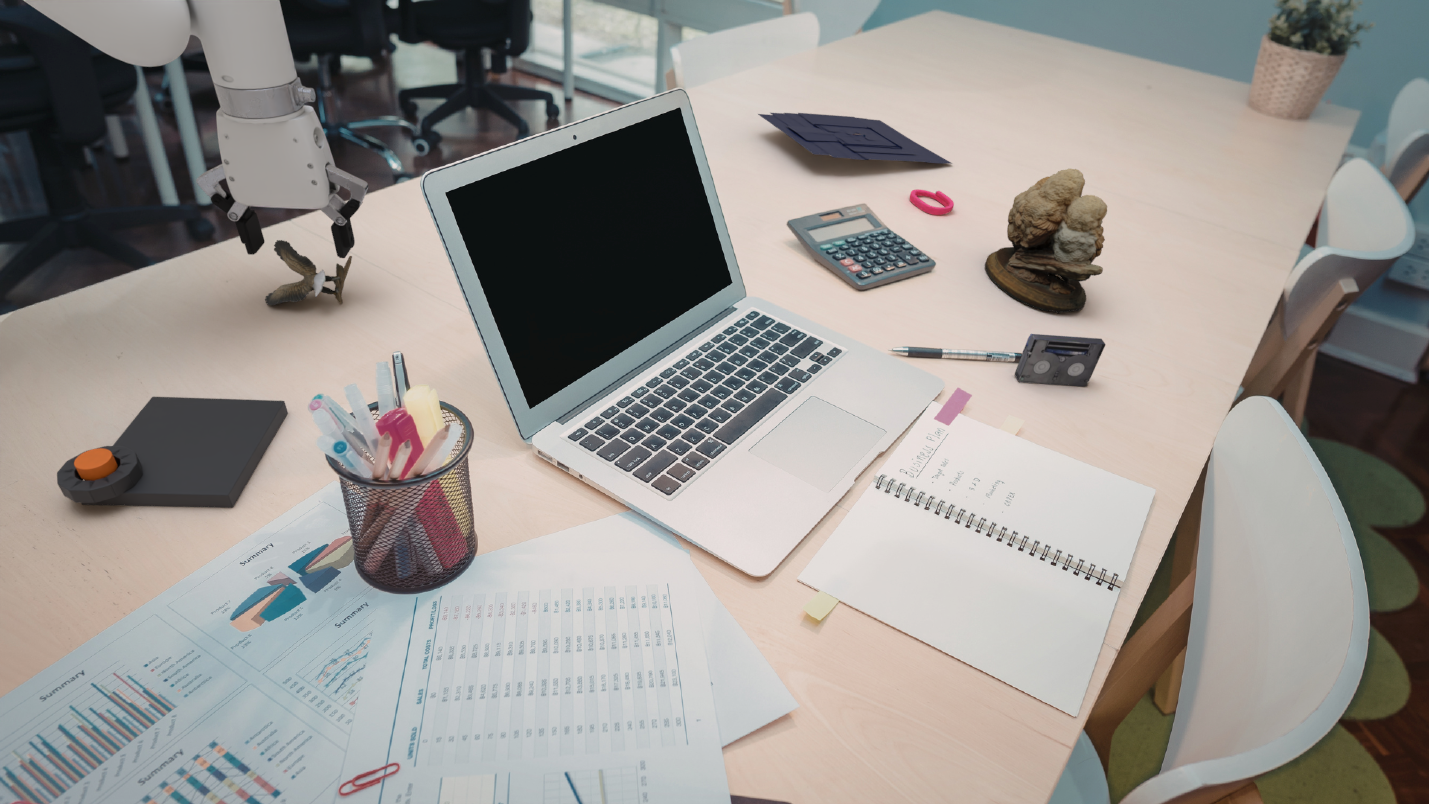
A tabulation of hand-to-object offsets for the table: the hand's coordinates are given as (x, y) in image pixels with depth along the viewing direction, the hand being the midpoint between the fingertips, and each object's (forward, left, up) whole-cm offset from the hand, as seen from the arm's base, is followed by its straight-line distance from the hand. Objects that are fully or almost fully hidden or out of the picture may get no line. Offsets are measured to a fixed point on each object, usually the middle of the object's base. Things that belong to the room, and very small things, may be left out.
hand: (301, 250), depth 92 cm
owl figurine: (+94, +12, -6) cm, 95 cm away
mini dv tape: (+87, -11, -6) cm, 88 cm away
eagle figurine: (0, 0, -6) cm, 6 cm away
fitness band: (+86, +38, -6) cm, 94 cm away
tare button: (-6, -33, -4) cm, 34 cm away
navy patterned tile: (+77, +62, -6) cm, 99 cm away
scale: (-1, -28, -6) cm, 29 cm away
